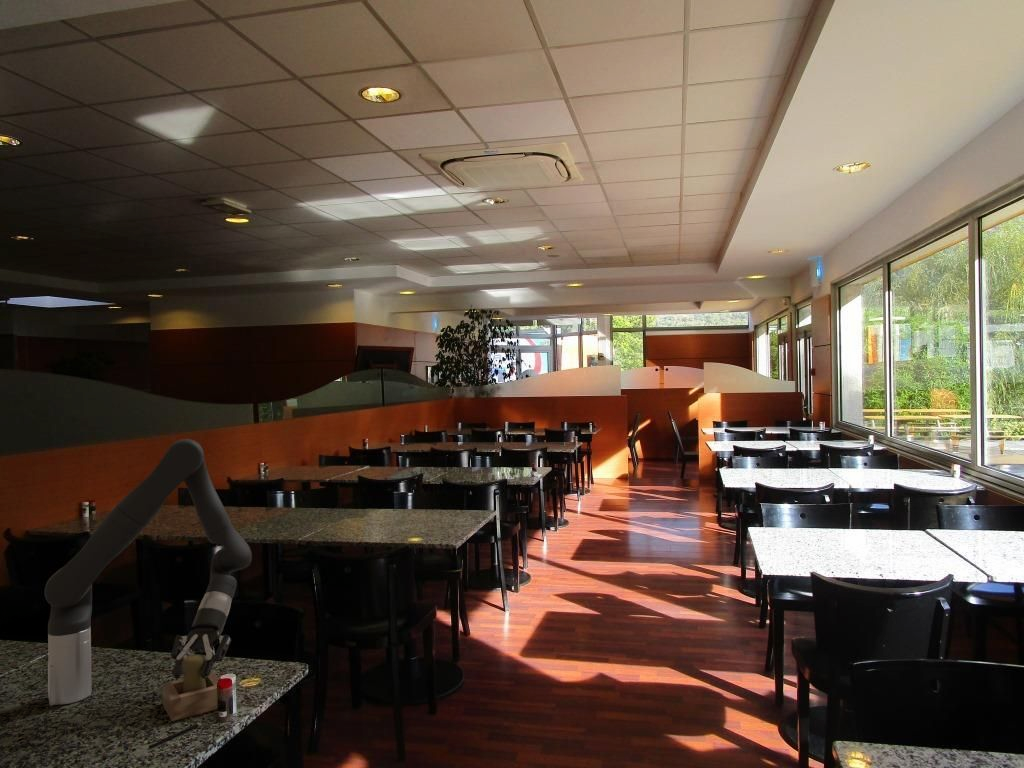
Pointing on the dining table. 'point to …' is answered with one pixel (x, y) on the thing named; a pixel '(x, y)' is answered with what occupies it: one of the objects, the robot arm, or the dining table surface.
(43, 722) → the dining table surface
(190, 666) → the cork
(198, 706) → the wooden box
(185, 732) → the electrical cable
